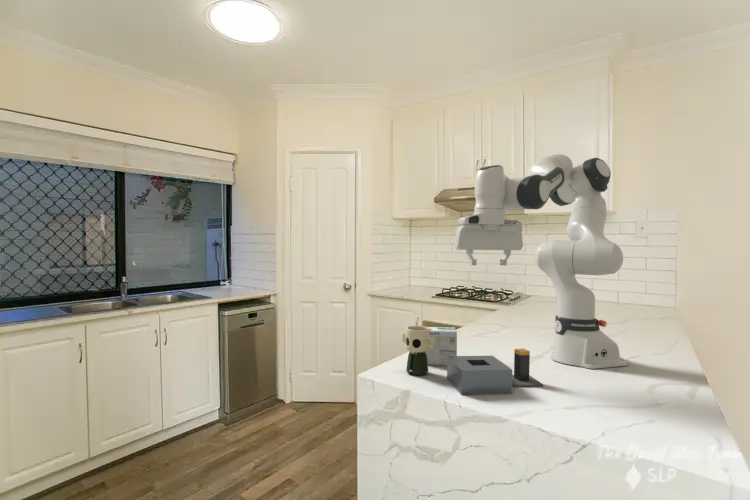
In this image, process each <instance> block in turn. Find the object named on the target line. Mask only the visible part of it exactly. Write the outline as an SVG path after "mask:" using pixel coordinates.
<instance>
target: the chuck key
mask: <svg viewBox="0 0 750 500" xmlns="http://www.w3.org/2000/svg"><path fill="white" fill-rule="evenodd" d="M513 351H514V354H513V355H514V357H513V361H514V362H513V375H514V378H515V379H517V380H519V381H529V375H530V361H531V359H530V357H531V356H530V355H531V351H530V350H527V349H525V348H515V349H514V350H513Z"/></svg>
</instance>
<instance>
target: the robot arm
mask: <svg viewBox="0 0 750 500" xmlns="http://www.w3.org/2000/svg"><path fill="white" fill-rule="evenodd" d="M573 165H574V164H573V162H572V160H571V158H570V157H568V156H567V155H565V154H562V153H561V154H559V153H558V154H551V155H548V156H545V157H543V158H540V159H538V160H537V161H535V162H534V163H532V164H531V165H530V166H529V168H528V170H527V174H526V175H527V176H523V177H516V178H509V177H508V176H507V175H506V174H505V171H504V167H503V165H499V164H496V165H489V166H483V167H480V168H478V169H477V172H476V174H475V180H474V181H475V182H474V199H475V205H474V208H473V209H474V210H473V213H472V214H469V215H466V216H463V217H460V218H458V221H457V222H458V225H459V226H458V227H457V228H456V231H455V236H454V247H455V249H456V250H457V251H458V250H459V251H460V250H465V251H466V253H465V254H466V256H467V257H468V259H469V265H470V266H477V261H478V260H477V259H475V258H474V256H473V255H472V254H474V251H503V255H504V256H503V258H502V259H501V258H500V259H499V265H500V266H503V267H504V266H507V265H508V260H509V257H510V256H511V255H512V254H511V253H512V251H521V250H522V249H523V247H524V243H523V241H524V240H523V234H522V233H523V224H522V223H521V221H520V220H518V219H513V220H512V219H505V211H516V210H517V211H518V210H540V209H542V208H543V207H544V206H545V205H546V203H547V202H548V200H549V199H550V200H551V201H552V202H553V203H554V204H555V205H557V206H560V207H563V206H564V207H565V206H568V205H571V204H572V203H574V207H573V209H572V211H571V214H570V216H569V220H568V224H567V226H566V235H567V237H568V238H569V240H567V239H566V240H559V239H558V240H551V241H545V242H542V243H540V244H539V245H538V247H537V248H536V250H535V253H534V260H535V264H536V265H537V267H538V268H539V270H541V271H542V272H543V273H545V275H547V277H548V278H549V279H550V281H551V282H552V284H553V286H554V290H555V294H556V295H555V296H556V315H555V318H554V319H555V321H554V330H555V339H554V344H553V348H552V351H551V354H550V359H551V360H553V361H555V362H558V363H562V364H566V365H569V366H570V365H571V366H575V367H581V368H586V369H590V370H591V369H592V370H593V369H594V370H595V369H605V368H615V367H616V368H618V367H626V366H629V361H628V360H626V359H625V358H623V357H621V355H620V349H619V346H618V344H617V343H616V342H615V341H614V340H613V339H611V338H610V337H609V336H608V335H607V334H605V333H604V332H603V331H602V330H601V328H600V327H602V328H606V327H607V325H608V322H607V321H606V320H603V319H597V318H596V317H595V316H596V296H595V294H594V292H593V291H592V290H591V289H590V288H589V287H587V286H585V285H582V284H581V283H579V282H578V281H577V279H576V275H581V276H582V275H583V276H584V275H585V276H605V275H606V276H607V275H612V274H613V275H615V274H616V273H617V272H619V270H620V269H621V267H622V265H623V264H624V263H623V262H624V253H623V251H622V249H621V247H620V246H619V245H618V244H617V243H616V242H613V241H611V240H609V239H608V238H607V237H606V236H605V235H604V231H605V229H604V228H605V224H606V220H607V214H608V213H607V203H606V200H605V198H604V197H603V195H602V194H601V193H604V192H606V191H607V190H608V185H609V183H610V179H611V169H610V166H609V165H608V164H607V163H606V162H605V161H604V160H603V159H601V158H599V157H593V158H588V159H587V160H584V161H583V162H582V163H580V164H578V165H576V166H573Z"/></svg>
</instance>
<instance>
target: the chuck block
mask: <svg viewBox="0 0 750 500" xmlns="http://www.w3.org/2000/svg"><path fill="white" fill-rule="evenodd" d="M513 372H514V369H512V368H511V367H510V366H508V365H506V364H505V363H503V362H502V361H501V360H500V359H498V358H496V357H495V356H494V355H457V356H447V366H446V378H447V379H448V381H449V382H450V383H451V385H453V386H454V388H455V389H456V390H457V392H458V393H459V394H460V395H462V396H464V395H467V396H469V395H508V394H509V395H510V394H511V395H512V394H513V386H512V375H513Z"/></svg>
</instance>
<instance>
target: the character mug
mask: <svg viewBox="0 0 750 500" xmlns="http://www.w3.org/2000/svg"><path fill="white" fill-rule="evenodd" d="M429 327H430V326H425V325H409V326H406V327H405V331H402V337H401V338H402V340H401V341H402V342H403V343H404V346H405V349H406V350H407V351H408V352H409V353H408V355H407V356H408V357H407V361H406V372H407V373H408V374H410V373H411V372H412V375H424V374H426V373H428V372H429V365H428V363H427V355H426V353H425V352H427V351H429V349H430V348H431V349H433V348H434V338H433V337H431V336H430V328H429ZM430 340H431V345H430Z"/></svg>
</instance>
